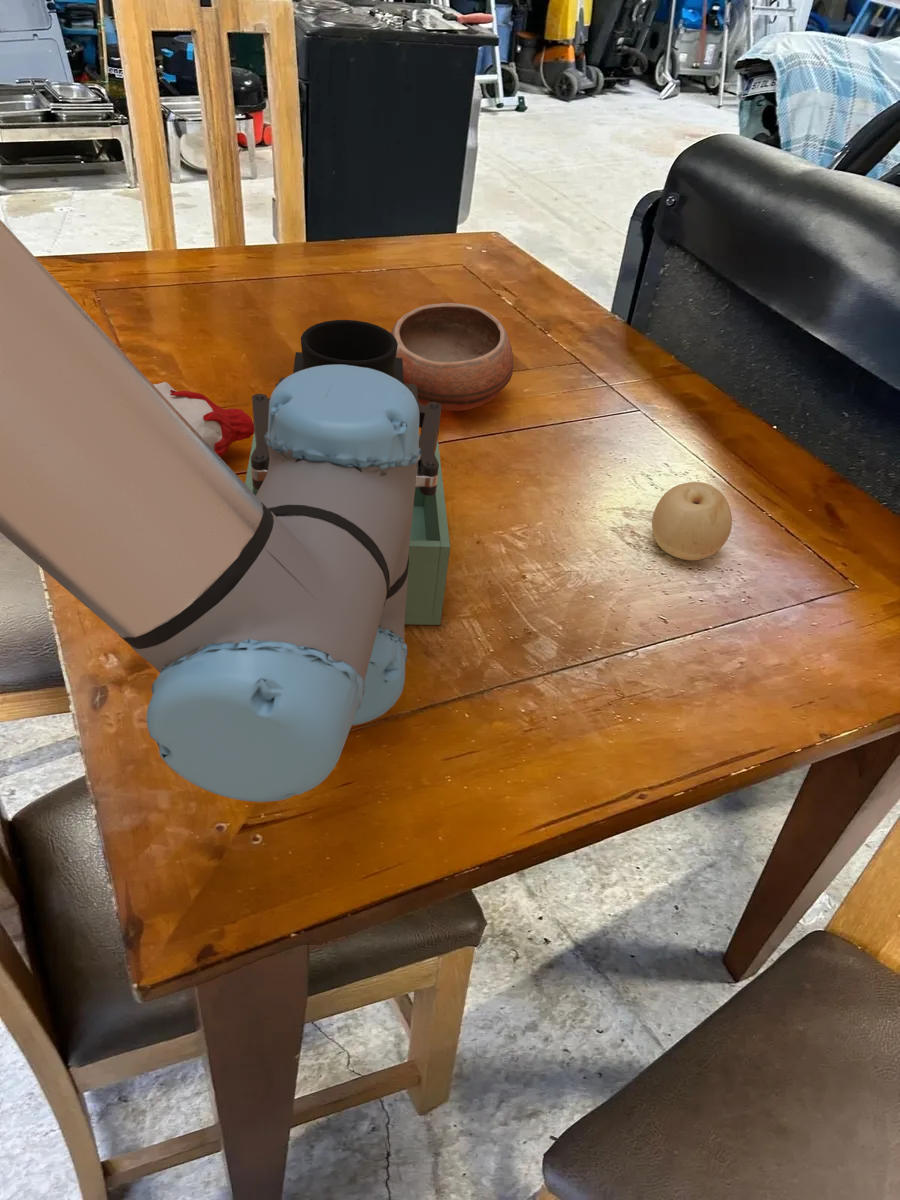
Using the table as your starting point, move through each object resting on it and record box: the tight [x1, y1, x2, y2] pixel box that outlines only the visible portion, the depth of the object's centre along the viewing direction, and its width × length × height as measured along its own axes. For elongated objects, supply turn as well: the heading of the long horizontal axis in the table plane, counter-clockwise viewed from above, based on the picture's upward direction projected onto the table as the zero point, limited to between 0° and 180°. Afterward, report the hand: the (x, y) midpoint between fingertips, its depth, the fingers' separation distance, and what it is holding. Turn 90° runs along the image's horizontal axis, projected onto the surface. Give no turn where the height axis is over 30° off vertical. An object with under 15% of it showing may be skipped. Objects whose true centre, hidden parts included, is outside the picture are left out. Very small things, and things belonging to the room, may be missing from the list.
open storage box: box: [244, 432, 451, 626], centre depth 82 cm, size 18×18×9 cm
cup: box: [300, 319, 398, 377], centre depth 74 cm, size 8×8×12 cm
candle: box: [152, 381, 254, 459], centre depth 92 cm, size 9×11×15 cm
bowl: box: [390, 302, 515, 412], centre depth 108 cm, size 16×16×10 cm
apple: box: [651, 481, 733, 561], centre depth 90 cm, size 8×8×8 cm
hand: (349, 369), depth 77 cm, fingers closed on cup, 8 cm apart
